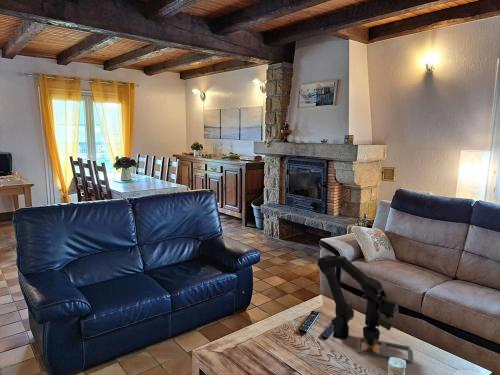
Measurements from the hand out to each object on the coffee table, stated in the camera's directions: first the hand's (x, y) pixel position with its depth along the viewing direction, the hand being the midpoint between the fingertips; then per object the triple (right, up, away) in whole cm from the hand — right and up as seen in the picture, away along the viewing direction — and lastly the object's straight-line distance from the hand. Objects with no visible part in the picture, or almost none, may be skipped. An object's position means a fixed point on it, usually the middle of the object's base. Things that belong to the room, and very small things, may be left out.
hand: (370, 341), depth 160 cm
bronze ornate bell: (0, -2, 0) cm, 2 cm away
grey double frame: (+5, -3, -1) cm, 6 cm away
